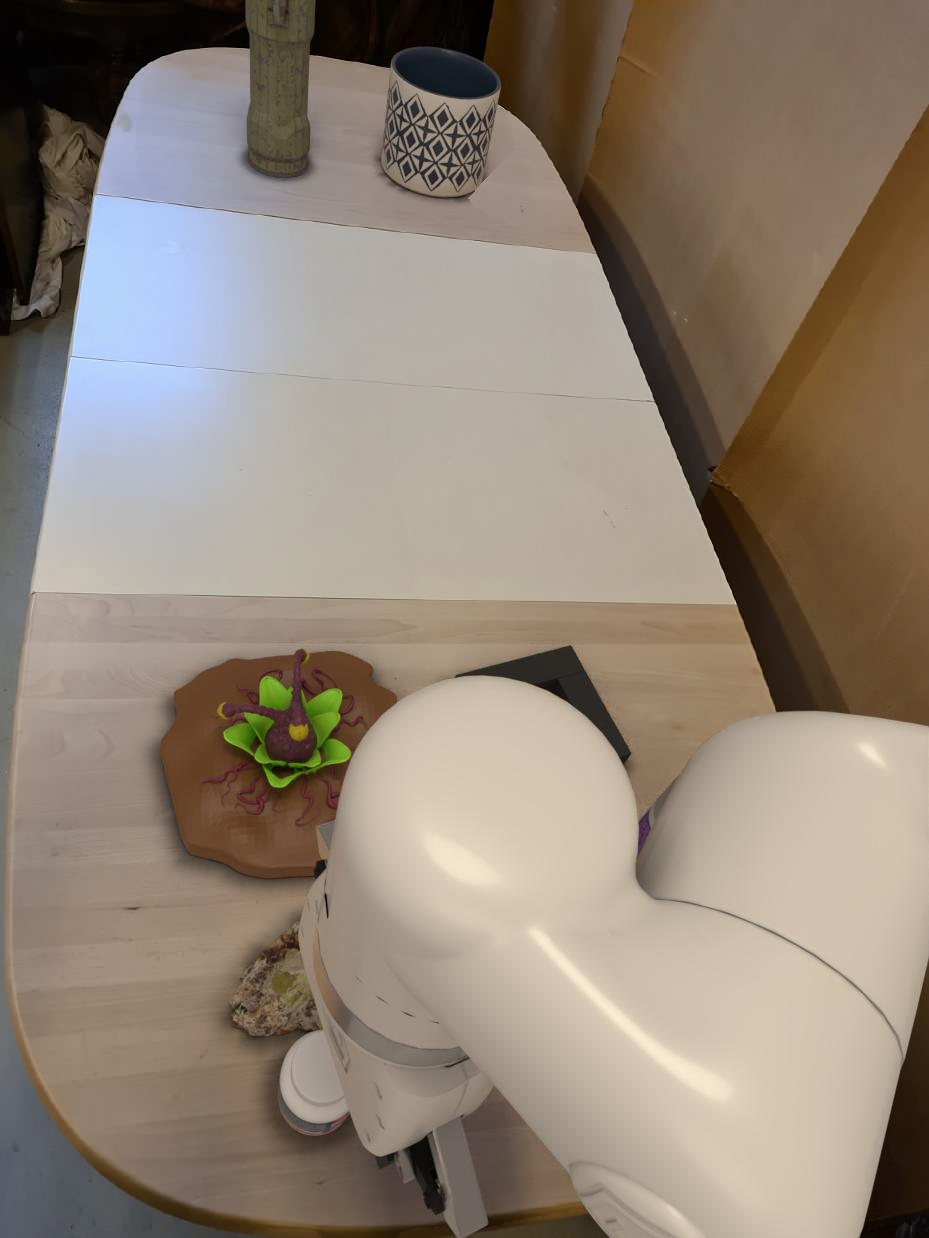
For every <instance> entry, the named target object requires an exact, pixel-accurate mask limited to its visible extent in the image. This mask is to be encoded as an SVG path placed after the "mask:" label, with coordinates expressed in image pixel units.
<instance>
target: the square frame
mask: <svg viewBox="0 0 929 1238" xmlns="http://www.w3.org/2000/svg"><path fill="white" fill-rule="evenodd" d="M463 676H494V677H504V678H508V679H513V680H517V681H521V682H526V683H528V684H531V685H534V686H536V687H539V688H541V689H544V690H547V691H549V692H550V693H552V694H554V695H556V696H557V697H559V698H561V699H563V700H565V701H566V702H568V703H569V704H571V705H572V706H573V707H574V708H576V709H577V710H578V711H580V712H581V713H582V714H584V715H585V716H586V717H587V718H588V719H589V720H590V721H591V722H592V723H593V724H594V725H595V726H596V727H597V728H598V729H599V730H600V731H601V732H602V733H603V735H604V736H605V737H606V739H607V740H608V741H609V743H610V744H611V746H612V747H613V748H614V750H615V751H616V752H617V754H618V756H619V758H620V760H621V762H622V764H623V766H624V765H625V764H626V762H627V761H628V760H629V758H630V757H631V755H632V751H631V749H630V747H629V746H628V744H627V742H626V741H625V739H624V737H623V735H622V733H621V731H620V729H619V728H618V726H617V725H616V723H615V721H614V719H613V717H612V716H611V714H610V712H609V710H608V708H607V707H606V705H605V703H604V701H603V699H602V698H601V696H600V694H599V692H598V690H597V688H596V687H595V685H594V684H593V682H592V680H591V678H590V676H589V675H588V673H587V671H586V669H585V667H584V665H583V663H582V661H581V660H580V658H579V656H578V655H577V652H576V651H575V649H574V648H573V646H572V645H571V644H570V645H566V646H561V647H557V648H554V649H550V650H547V651H543V652H539V653H535V654H531V655H528V656H527V655H526V656H523V657H521V658H516V659H512V660H508V661H504V662H500V663H496V664H492V665H489V666H485V667H481V668H477V669H474V670H469V671H466V672H465V671H464V672H462V673H457V674H455V675H454V678H458V677H463Z"/></svg>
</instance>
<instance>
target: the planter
mask: <svg viewBox="0 0 929 1238" xmlns="http://www.w3.org/2000/svg"><path fill="white" fill-rule="evenodd" d="M501 88H502V81H501V78H500V76H499V75H498V74H497V72H496V71H495V70H494V69H493V68H492V67H490V66H489V65H488V64H486V63H485V62H483V61H481V60H480V59H478V58H475V57H473V56H470V55H468V54H465V53H462V52H460V51H456V50H452V49H447V48H443V47H434V46H416V47H415V46H414V47H410V48H405V49H403V50H400V51H398V52H397V53H396V54H394V55H393V57H392V59H391V62H390V71H389V79H388V88H387V96H386V97H387V98H386V109H385V118H384V126H383V135H382V145H381V146H382V147H381V156H380V157H381V158H380V162H381V167H382V168H383V170H384V172H385V173H386V175H387V176H388V177H389V178H391V179H392V180H393V181H394V182H396V183H397V184H398V185H400V186H402V187H403V188H406V189H407V190H410V191H412V192H415V193H418V194H421V195H425V196H429V197H438V198H455V197H461V196H465V195H467V194H468V195H469V194H471V193H473V192H474V191H476V190H477V189H478V188H479V187H480V186H481V184H482V182H483V179H484V174H485V170H486V164H487V159H488V155H489V149H490V144H491V139H492V135H493V129H494V124H495V121H496V120H495V119H496V114H497V109H498V104H499V99H500V93H501Z"/></svg>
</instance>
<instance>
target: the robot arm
mask: <svg viewBox="0 0 929 1238" xmlns="http://www.w3.org/2000/svg"><path fill="white" fill-rule="evenodd" d="M679 774H680V775H679ZM679 774H678V775H679V776H678V775H677V777H678V778H677V777H676V778H677V780H676V782H675V784H674V786H673V787H672V789H671V791H670V793H669V795H668V797H667V799H666V801H665V803H664V805H663V807H662V808H661V810H660V812H659V814H658V816H657V818H656V820H655V822H654V824H653V826H652V828H651V830H650V832H649V834H648V837H647V839H646V841H645V843H644V845H643V847H642V849H641V851H640V853H639V855H638V857H637V854H638V837H639V824H638V821H639V815H638V808H637V799H636V796H635V792H634V789H633V786H632V784H631V780H630V777H629V774H628V772H627V770H626V768H625V766H624V765H623V764H622V762H621V760H620V758H619V756H618V754H617V752H616V751H615V750H614V748H613V747H612V746H611V744H610V743H609V741H608V740H607V739H606V737H605V736H604V735H603V733H602V732H601V731H600V730H599V729H598V728H597V727H596V726H595V725H594V724H593V723H592V722H591V721H590V720H589V719H588V718H587V717H586V716H585V715H584V714H582V713H581V712H580V711H578V710H577V709H576V708H574V707H573V706H572V705H571V704H569V703H568V702H566V701H565V700H563V699H561V698H559V697H557V696H556V695H554V694H552V693H551V692H549V691H547V690H544V689H541V688H539V687H536V686H534V685H531V684H528V683H526V682H521V681H517V680H513V679H508V678H504V677H494V676H463V677H458V678H455V677H453V678H447V679H442V680H440V681H437V682H433V683H431V684H428V685H426V686H423V687H421V688H419V689H417V690H416V691H413V692H411V693H410V694H408V695H407V696H405V697H403V698H401V699H400V700H397V703H396V704H395V705H393V706H392V707H391V708H390V709H388V710H387V711H386V712H385V713H384V714H382V715H381V716H380V718H379V719H378V720H377V721H376V722H375V724H374V725H373V726H372V727H371V728H370V729H369V730H368V732H367V733H366V734H365V736H364V737H363V738H362V740H361V742H360V743H359V745H358V747H357V748H356V750H355V752H354V754H353V756H352V758H351V761H350V763H349V766H348V769H347V772H346V775H345V778H344V781H343V785H342V788H341V792H340V796H339V801H338V807H337V813H336V818H335V820H332V821H329V822H326V823H323V824H320V825H317V826H316V835H317V843H318V851H319V854H320V856H321V858H322V860H320V861H317V862H316V869H314V875H315V876H314V878H315V880H314V882H313V883H312V884H311V887H310V889H309V891H308V893H307V895H306V898H305V902H304V906H303V909H302V912H301V917H300V920H299V922H300V926H299V932H298V940H299V946H300V951H301V956H302V960H303V964H304V967H305V971H306V974H307V977H308V981H309V984H310V988H311V991H312V994H313V997H314V1001H315V1004H316V1007H317V1010H318V1014H319V1017H320V1020H321V1023H322V1027H323V1030H324V1033H325V1036H326V1040H327V1043H328V1046H329V1049H330V1052H331V1055H332V1059H333V1062H334V1065H335V1068H336V1071H337V1074H338V1077H339V1080H340V1084H341V1087H342V1090H343V1093H344V1096H345V1099H346V1102H347V1105H348V1108H349V1111H350V1114H349V1115H350V1118H351V1120H352V1123H353V1125H354V1128H355V1130H356V1134H357V1136H358V1138H359V1140H360V1142H361V1144H362V1146H363V1147H364V1148H365V1149H366V1150H367V1151H368V1152H370V1154H373V1156H376V1157H375V1160H376V1164H377V1167H378V1170H382V1169H384V1168H386V1167H388V1166H390V1165H393V1164H395V1165H396V1169H397V1172H398V1175H399V1177H400V1179H401V1182H402V1183H403V1184H407V1183H409V1182H411V1181H413V1180H414V1179H415V1180H416V1182H417V1183H418V1185H419V1187H420V1190H421V1191H422V1197H423V1203H424V1206H425V1207H426V1209H427V1210H428V1211H431V1212H432V1213H433V1215H434V1216H438V1215H440V1214H443V1217H444V1221H445V1223H446V1224H447V1225H448V1226H449V1228H450V1230H451V1232H453V1234H454V1235H455V1237H456V1238H466V1237H468V1236H470V1235H471V1234H473V1233H476V1232H477V1231H480V1230H481V1229H483V1228H485V1227H486V1226H488V1225H489V1219H488V1215H487V1211H486V1207H485V1203H484V1200H483V1196H482V1192H481V1188H480V1184H479V1180H478V1177H477V1172H476V1168H475V1166H474V1165H475V1164H474V1160H473V1157H472V1153H471V1150H470V1145H469V1142H468V1139H467V1135H466V1131H465V1127H464V1124H463V1119H464V1118H466V1117H467V1116H469V1115H471V1114H472V1113H473V1112H475V1111H476V1110H477V1109H478V1108H479V1107H480V1106H481V1104H483V1102H484V1101H485V1100H486V1099H487V1098H488V1096H489V1095H490V1093H491V1092H492V1090H493V1089H494V1087H495V1088H496V1089H497V1091H498V1092H499V1093H500V1094H501V1095H502V1096H503V1097H504V1099H506V1101H507V1103H509V1104H510V1106H511V1107H512V1108H513V1109H514V1110H515V1111H516V1113H517V1114H518V1115H519V1117H520V1118H521V1119H522V1120H523V1121H524V1122H525V1124H527V1126H528V1127H529V1128H530V1130H532V1131H533V1133H534V1134H535V1135H536V1137H537V1138H538V1139H539V1140H540V1141H541V1142H542V1144H543V1145H544V1146H545V1147H546V1148H547V1149H548V1151H549V1152H550V1153H551V1155H553V1156H554V1158H555V1159H556V1160H557V1162H558V1163H559V1165H561V1166H562V1167H563V1168H564V1169H565V1171H566V1172H567V1173H568V1174H569V1175H570V1180H571V1183H572V1187H573V1189H574V1191H575V1193H576V1196H577V1197H578V1198H579V1200H580V1202H581V1203H582V1205H583V1207H584V1208H585V1210H586V1211H587V1212H588V1213H589V1215H590V1216H591V1218H592V1219H593V1220H594V1221H595V1223H596V1225H598V1226H599V1228H600V1229H601V1230H602V1231H603V1232H604V1233H605V1234H606V1235H607V1237H608V1238H860V1237H861V1233H862V1231H863V1228H864V1225H865V1220H866V1217H867V1213H868V1209H869V1205H870V1201H871V1196H872V1192H873V1189H874V1185H875V1181H876V1175H877V1171H878V1167H879V1162H880V1159H881V1155H882V1150H883V1145H884V1142H885V1138H886V1134H887V1133H886V1132H887V1128H888V1124H889V1120H890V1115H891V1112H892V1106H893V1103H894V1099H895V1094H896V1092H897V1091H896V1090H897V1086H898V1081H899V1078H900V1073H901V1070H902V1068H903V1065H904V1062H905V1061H906V1060H905V1059H906V1055H907V1051H908V1048H909V1043H910V1039H911V1035H912V1031H913V1028H914V1023H915V1018H916V1014H917V1010H918V1006H919V1002H920V997H921V993H922V990H923V989H922V988H923V983H924V980H925V975H926V971H927V968H928V963H929V725H924V724H919V723H913V722H907V721H906V722H905V721H901V720H895V719H889V718H884V717H875V716H869V715H860V714H851V713H844V712H843V713H842V712H837V711H836V712H835V711H823V710H792V711H791V710H790V711H789V710H788V711H775V712H768V713H763V714H759V715H755V716H750V717H747V718H743V719H740V720H738V721H735V722H733V723H731V724H729V725H727V726H726V727H724V728H722V729H720V730H719V731H718V732H716V733H714V734H712V735H711V736H710V737H709V738H708V739H706V740H705V741H704V742H703V743H702V744H701V745H700V746H699V747H698V749H696V751H695V752H694V753H693V754H692V755H691V756H690V758H689V759H688V760H687V762H686V763H685V765H684V767H683V769H682V770H681V771H680V773H679Z"/></svg>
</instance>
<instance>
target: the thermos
mask: <svg viewBox="0 0 929 1238" xmlns="http://www.w3.org/2000/svg"><path fill="white" fill-rule="evenodd" d="M244 3H245V5H244V6H245V25H246V28H247V31H248V34H249V98H250V99H249V105H248V109H247V113H246V114H247V115H246V145H247V147H248V153H247V158H248V164H249V165H250V166H251V167H252V168H253V169H254V170H256V171H257V172H259V173H261V174H263V175H265V176H270V177H273V178H278V179H279V178H281V179H288V178H296V177H299V176H301V175H303V174H305V173H306V172H307V170H308V168H309V152H310V150H311V132H312V130H311V129H312V128H311V124H310V120H309V117H308V110H309V109H308V106H309V81H310V80H309V79H310V55H311V54H310V53H311V52H310V51H311V41H312V39H313V37H314V35H315V18H316V17H315V16H316V15H315V14H316V0H245V1H244Z"/></svg>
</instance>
